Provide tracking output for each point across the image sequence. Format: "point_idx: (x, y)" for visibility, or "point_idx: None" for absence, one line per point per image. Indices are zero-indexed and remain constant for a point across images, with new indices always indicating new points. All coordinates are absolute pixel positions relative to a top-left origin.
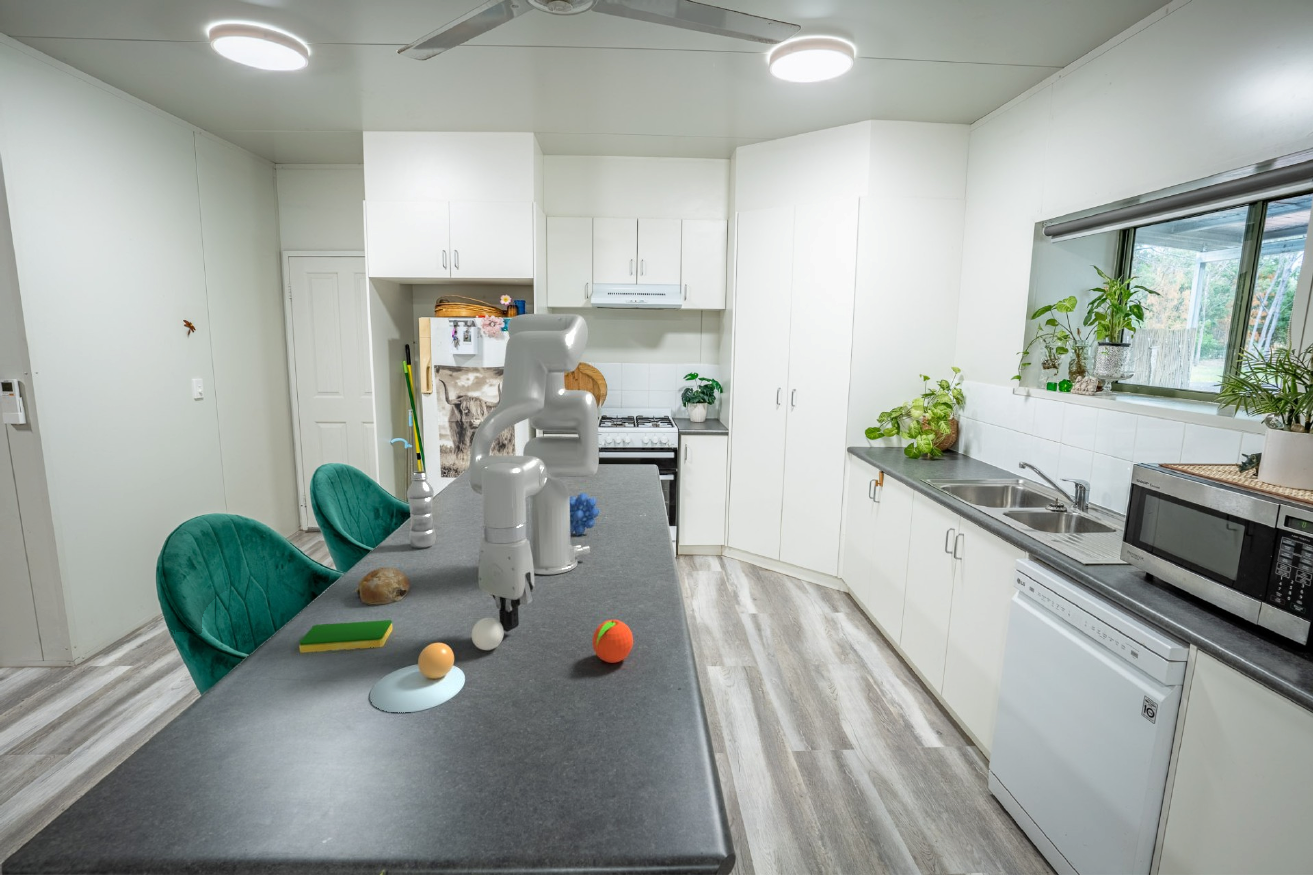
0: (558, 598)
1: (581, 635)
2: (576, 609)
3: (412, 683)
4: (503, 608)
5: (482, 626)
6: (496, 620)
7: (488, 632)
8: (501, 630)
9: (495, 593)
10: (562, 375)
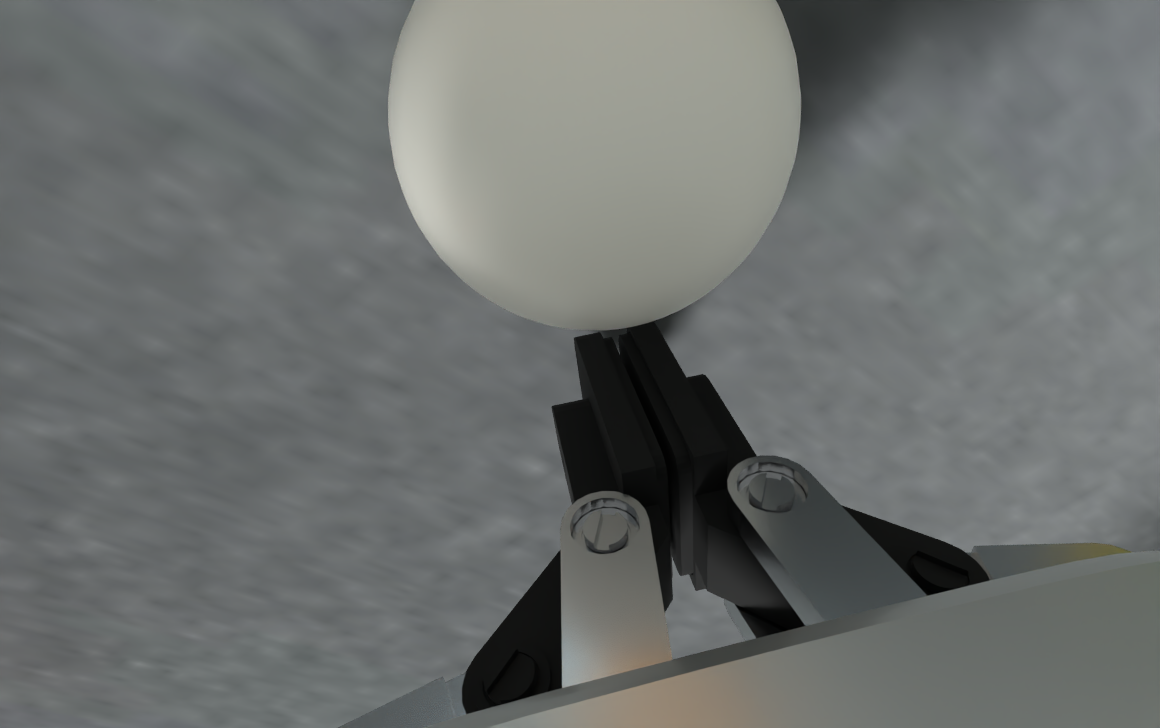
0: None
1: (235, 630)
2: None
3: None
4: (707, 492)
5: (567, 28)
6: (558, 298)
7: (431, 48)
8: (439, 253)
9: (844, 662)
10: None
